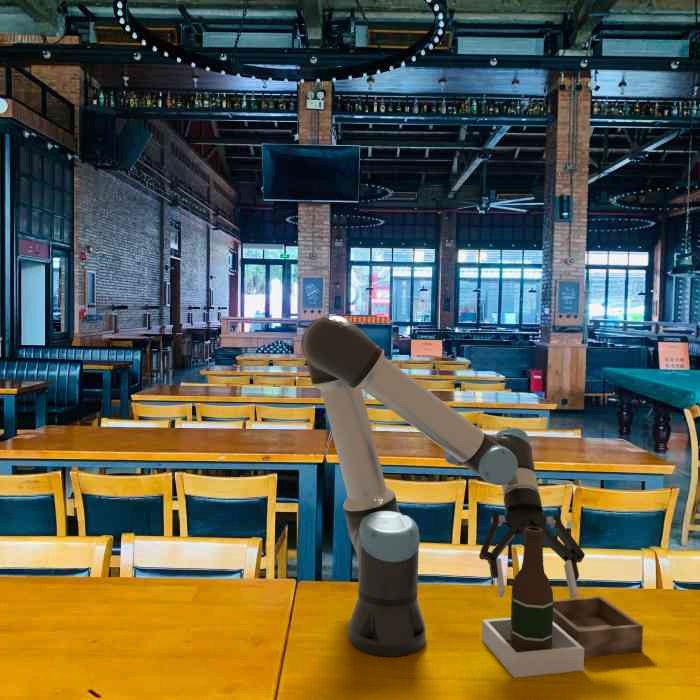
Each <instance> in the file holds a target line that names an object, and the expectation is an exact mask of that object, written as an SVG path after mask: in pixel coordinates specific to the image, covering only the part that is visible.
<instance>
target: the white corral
mask: <svg viewBox="0 0 700 700" xmlns="http://www.w3.org/2000/svg"><path fill="white" fill-rule="evenodd" d="M481 622H482V623H481V641H482V642H483V643H484V645H485V646H486V647H487V648H488V649H489V651H491V653H492V654H493V655H494V656H495V657H496V659H497V660H499V662H500V663H501V664H502V666H503V667H504V668H505V669H506V670H507V671H508V673H509V674H510V675H511V676H512V678H514V679H515V678H524V677H533V676H534V677H535V676H543V675H552V674H561V673H571V672H572V673H573V672H583V671H584V669H585V667H584V666H585V658H584V648H583V647H582V646H581V645H580V644H579V643H577V642H576V641H575V640H574V639H573V638H572V637H570V636H569V635H568V634H567V633H566V632H565V631H564V630H562V629H561V628H560V627H559V626H558V625H557V624H555V623H554V622H553V628H552V647H553V648H552V649H548V650H538V651H528V652H516V651H515V650H514V649H513V648H512V647H511V644H510V643H508V642H507V641H509V640H510V632H511V617H501V618H490V619H482V620H481Z"/></svg>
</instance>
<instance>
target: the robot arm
mask: <svg viewBox="0 0 700 700" xmlns="http://www.w3.org/2000/svg"><path fill="white" fill-rule="evenodd" d="M300 343H301V351H302V354H303V356H304V358H305V361H306V365H307V368H308V373H309V377H310V381H311V384H312V386H313V387H314V388H316V389H318V390H319V391H320V392H321V395H322V399H323V403H324V407H325V411H326V415H327V419H328V423H329V426H330V431H331V435H332V439H333V443H334V446H335V447H334V448H335V451H336V455H337V458H338V462H339V468H340V470H341V474H342V479H343V483H344V488H345V490H346V494H347V497H346V499H345V501H344V503H343V505H342V507H343V511H344V515H345V519H346V523H347V533H348V538H349V539H350V542H351V543H352V545H353V548H354V552H355V554H356V557H357V559H358V584H357V585H358V586H357V587H358V592H357V593H358V595H357V599H356V602H355V606H354V608H353V611H352V614H351V617H350V620H349V623H348V640H349V642H350V644H352V646H353V647H355V648H356V649H358V650H360V651H362V652H365V653H367V654H371V655H374V656H379V657H400V656H406V655H410V654H413V653H416V652H417V651H419V650H420V649H421V648H423V646H425V643H426V633H427V632H426V630H427V629H426V626H425V622H424V618H423V615H422V611H421V609H420V604H419V601H418V588H419V587H418V586H419V585H418V584H419V583H418V582H419V580H418V579H419V552H420V551H419V547H420V542H421V541H420V540H421V539H420V534H419V532H420V531H419V526H418V525H417V523H416V521H415V520H414V519H413V518H412V517H410V516H409V515H406V514H405V515H404V514H403V513H401V512H400V509H399V504H398V500H397V498H396V493H395V492H394V490H392V489H390V488H388V487H387V485H386V481H385V477H384V474H383V469H382V465H381V461H380V457H379V452H378V448H377V445H376V444H377V443H376V441H375V436H374V434H373V429H372V425H371V421H370V417H369V413H368V407H367V405H366V404H367V403H366V399H365V397H364V392H366V393H367V394H368V395H370V396H372V398H374V399H375V400H376V401H378V402H379V403H381V404H382V405H383V406H384V407H386V408H387V409H389V410H390V411H391V412H393V413H394V414H395V415H396V416H398V417H399V418H401V419H403V420H404V421H405V422H406V423H407V424H408V425H410V426H411V427H412V428H414V429H416V430H417V431H419V432H420V433H421V434H423V435H424V436H425V437H426V438H428V439H429V440H430V441H432V442H433V443H435V444H436V445H437V446H438V447H440V448H441V449H443V455H444V456H443V457H444V460H445V462H446V463H447V464H449V465H454V466H457V467H466V468H468V469H469V470H470V471H472V472H473V473H474V474H476V475H477V476H479V477H480V478H481V479H483V481H485V482H486V483H488V484H491V485H494V486H501V488H502V491H501V492H502V495H503V504H504V510H505V511H504V512H505V515H500V514H499V512H497V511H495V512H492V516H491V519H490V528H489V530H488V532H487V535H486V537H485V539H484V543H483V544H482V547H481V549H480V553H479V555H478V557H479V560H483V561H484V560H485V561H487V563H488V564H489V571H490V576H491V578H492V579H496V586H497V587H496V588H497V594H498V597H499V598H502V597H503V596H504V595H505V593H506V589H505V582H504V575H503V567H502V558H501V557H499V556H500V555H501V554H502V552H504V550H505V549H506V547H507V546H508V544H510V542H511V541H513V539H514V538H515V537H518V538H519V539H525V534H524V530H525V528H527V527H530V526H532V527H538V528H541V529H542V530H543V533H544V536H543V537H542V540H543V542H544V543H545V545H547V546H548V547H549V548H550V549H551V550H552V551H553V552H554V553H556V555H557V556H559V557H560V558H561V560H563V561H564V563H565V564H564V565H563V568H564V574H565V577H566V583H567V588H568V594H569V599H575V598H577V596H578V595H579V591H578V586H577V581H578V579H579V577H580V573H579V569H578V565H577V564H578V563H581V562H582V561H583V560H584V558H585V556H586V554H585V553H584V551H583V550H582V548H581V547H580V545H579V544H578V543H577V542H576V540H575V538H573V536H572V535H571V533H570V532H569V531H568V529H567V528H566V527H565V526H564V524H563V522H562V519H561V515H559V514H558V513H554V515H552V516H546V515H545V514H544V511H543V505H542V501H541V495H540V489H539V484H538V479H537V474H536V468H535V463H534V458H533V449H532V446H531V443H530V439H529V436H528V433H527V432H526V431H524V430H523V429H521V428H519V427H518V428H517V427H511V428H502V429H501V430H498V432H496V434H495V435H487V433H484V431H483V430H481V429H480V428H479V427H477V425H475V424H473V422H471V421H469V420H468V419H467V418H466V417H464V416H463V415H461V414H460V413H459V412H458V411H456V410H455V409H453V408H452V407H451V406H450V405H448V404H447V403H446V402H444V400H442V399H440V398H439V397H438V396H436V395H435V394H434V393H432V391H430V390H428V389H427V388H426V387H424V386H423V385H422V384H421V383H419V382H418V381H416V379H414V378H412V376H410V375H408V374H407V373H406V371H403V370H402V369H400V367H398V366H397V365H396V364H394V363H392V362H391V361H390V360H389V359H388V358H386V356H385V350H384V349H383V348H382V347H380V346H379V345H377V344H376V342H374V341H373V340H372V339H371V338H370V337H368V336H367V335H366V334H365V333H364V332H363V331H362V330H361V329H360V328H359V327H358V326H357V325H356V324H355V323H354V322H352V320H350V319H348V318H347V317H345V316H344V317H343V316H340V315H327V316H321V317H319V318H316V319H315V320H313V321H311V323H309V325H308V326H307V327H306V328H305V329H304V332H303V334H302V337H301V342H300ZM503 523H504V524H505V525H506V526H507V528H508V530H507V532H506V533H505V534H504V536H503V537H502V538H501V539H500V540H499V542H498V543H497V545H496V546H495V547H494V548H493V549H492V551H490V550H489V549H490V547H491V544H492V541H493V539H494V537H495V534H496V532H497V529H498V527H501V526H502V524H503ZM546 524H547V525H549V526H550V528H551V529H553V531H554V533H555V534H556V535H557V537H558V538H559V539H560V540H559V539H558V538H557V537H556V536H555V535H553V534H552V532H551V530H550V529H549V528H548V527H547V526H546Z"/></svg>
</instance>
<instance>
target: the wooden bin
mask: <svg viewBox="0 0 700 700" xmlns="http://www.w3.org/2000/svg"><path fill="white" fill-rule="evenodd" d="M553 622H554V623H555V624H557V625H558V626H559V627H560V628H561V629H562V630H564V631H565V632H566V633H567V634H568V635H569V636H570V637H572V638H573V639H574V640H575V641H576V642H577V643H579V644H580V645H581V646H582V647H583V648H584V659H585V658H593V657H601V656H602V657H603V656H613V655H623V654H632V653H633V654H634V653H642V652H643V639H644V637H643V636H644V635H643V633H644V626H643V625H642V624H640V623H639V622H638V621H637V620H635V619H634V618H632V617H631V616H629V615H628V614H626V613H625V612H624V611H622V610H621V609H619V608H617V607H616V606H615V605H614V604H612V603H610V602H609V601H608V600H607V599H605V598H604V597H602V596H588V597H576V598H575V599H570V598H561V599H553Z"/></svg>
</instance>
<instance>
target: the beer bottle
mask: <svg viewBox="0 0 700 700" xmlns="http://www.w3.org/2000/svg"><path fill="white" fill-rule="evenodd" d="M524 534H525V538H524V545H523V556H522V564H521V569H520V570H519V571H518V572H517V573H516V575H515V576H514V579H513V581H512V585H511V595H510V596H511V597H510V598H511V599H510V600H511V601H510V603H511V604H510V618H511V632H510V642H509V644H510V646H511V647H512V648H513V649H514V650H515V651H516V652H528V651H538V650H548V649H553V645H552V628H553V600H554V592H553V589H552V584H551V582H550V579H549V577H548V576H547V575H546V573H545V567H544V547H543V545H544V543H543V542H544V541H543V540H542V537H543V536H544V533H543V530H542V529H541V528H538V527H532V526H530V527H527V528H525V530H524Z"/></svg>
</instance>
